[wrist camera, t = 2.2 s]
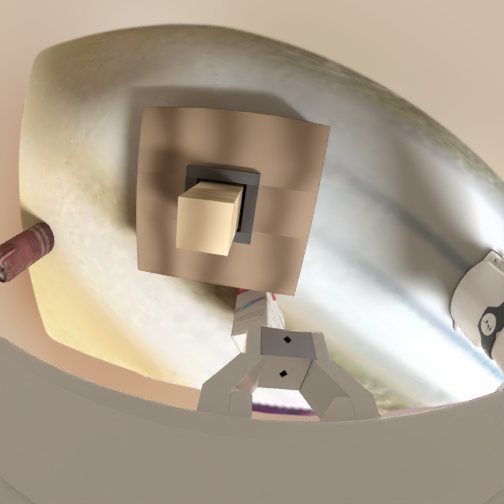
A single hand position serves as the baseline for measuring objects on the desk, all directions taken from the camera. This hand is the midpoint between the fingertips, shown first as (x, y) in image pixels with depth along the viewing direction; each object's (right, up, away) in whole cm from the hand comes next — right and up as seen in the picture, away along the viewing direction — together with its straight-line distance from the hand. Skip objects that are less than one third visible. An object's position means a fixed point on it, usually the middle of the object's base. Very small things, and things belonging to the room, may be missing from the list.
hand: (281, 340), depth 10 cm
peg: (-4, +9, +19) cm, 22 cm away
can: (-41, +7, +31) cm, 52 cm away
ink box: (+1, -4, +33) cm, 33 cm away
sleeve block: (-4, +12, +26) cm, 29 cm away
